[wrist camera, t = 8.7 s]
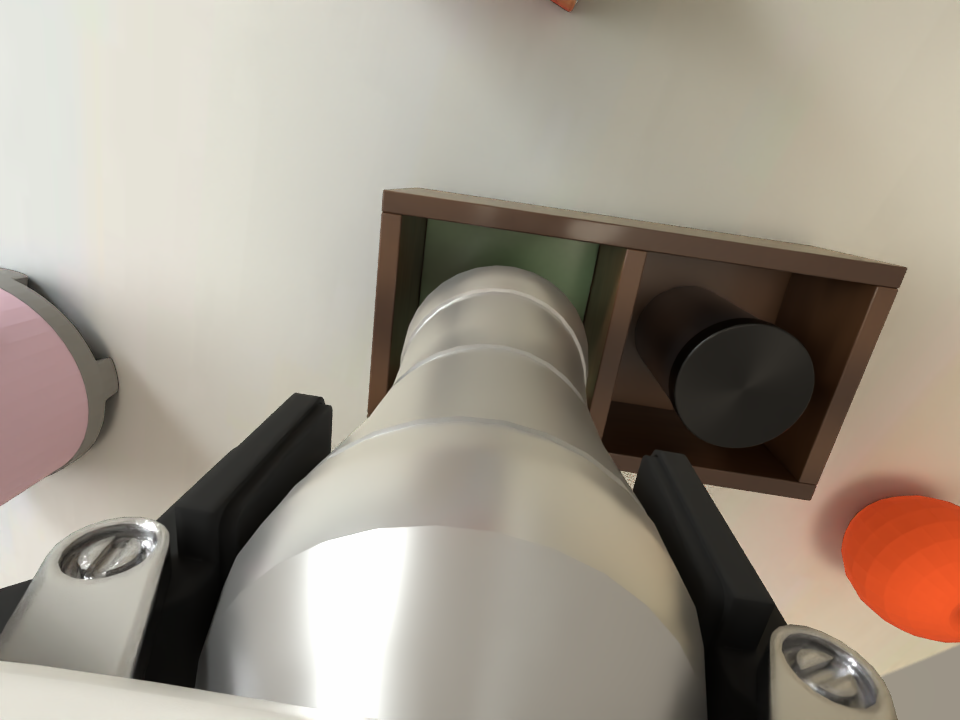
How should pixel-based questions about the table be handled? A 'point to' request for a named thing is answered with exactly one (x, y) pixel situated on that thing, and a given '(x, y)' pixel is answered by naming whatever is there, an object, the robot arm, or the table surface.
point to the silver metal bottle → (466, 544)
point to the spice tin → (724, 367)
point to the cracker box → (565, 4)
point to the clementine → (908, 564)
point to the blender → (44, 388)
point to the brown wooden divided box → (622, 298)
